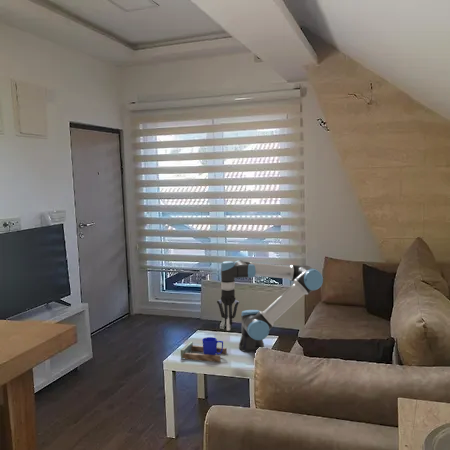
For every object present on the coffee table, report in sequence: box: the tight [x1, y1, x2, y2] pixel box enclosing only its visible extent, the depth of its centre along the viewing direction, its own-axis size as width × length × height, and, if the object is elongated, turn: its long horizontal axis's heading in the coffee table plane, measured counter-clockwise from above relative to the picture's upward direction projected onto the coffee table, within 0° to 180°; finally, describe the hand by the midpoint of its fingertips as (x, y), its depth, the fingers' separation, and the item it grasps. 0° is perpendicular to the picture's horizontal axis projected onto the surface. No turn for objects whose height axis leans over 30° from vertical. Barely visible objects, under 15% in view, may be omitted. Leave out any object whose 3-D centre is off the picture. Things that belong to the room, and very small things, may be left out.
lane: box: [180, 341, 227, 363], centre depth 273 cm, size 23×15×5 cm, turn 75°
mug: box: [202, 336, 224, 355], centre depth 272 cm, size 8×12×10 cm
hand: (228, 329), depth 268 cm, fingers closed
